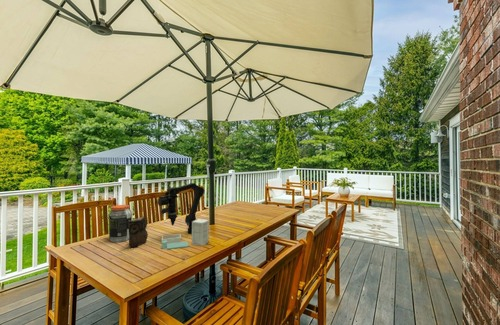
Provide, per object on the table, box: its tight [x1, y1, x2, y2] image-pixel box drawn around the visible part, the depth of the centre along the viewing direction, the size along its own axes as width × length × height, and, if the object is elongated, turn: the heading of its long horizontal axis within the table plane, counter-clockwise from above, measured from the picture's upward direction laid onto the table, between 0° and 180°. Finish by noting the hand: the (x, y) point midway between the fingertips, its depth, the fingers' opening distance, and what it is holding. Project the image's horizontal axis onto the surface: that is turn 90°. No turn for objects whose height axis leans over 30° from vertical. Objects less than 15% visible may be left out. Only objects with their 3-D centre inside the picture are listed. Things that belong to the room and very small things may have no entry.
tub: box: [161, 233, 182, 244], centre depth 178 cm, size 14×9×4 cm, turn 110°
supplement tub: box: [108, 204, 133, 243], centre depth 184 cm, size 16×16×26 cm
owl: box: [128, 216, 149, 249], centre depth 170 cm, size 13×13×20 cm
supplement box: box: [191, 218, 210, 246], centre depth 174 cm, size 10×9×17 cm
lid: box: [161, 240, 189, 250], centre depth 167 cm, size 18×9×5 cm, turn 110°
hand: (172, 223), depth 183 cm, fingers open, 9 cm apart
